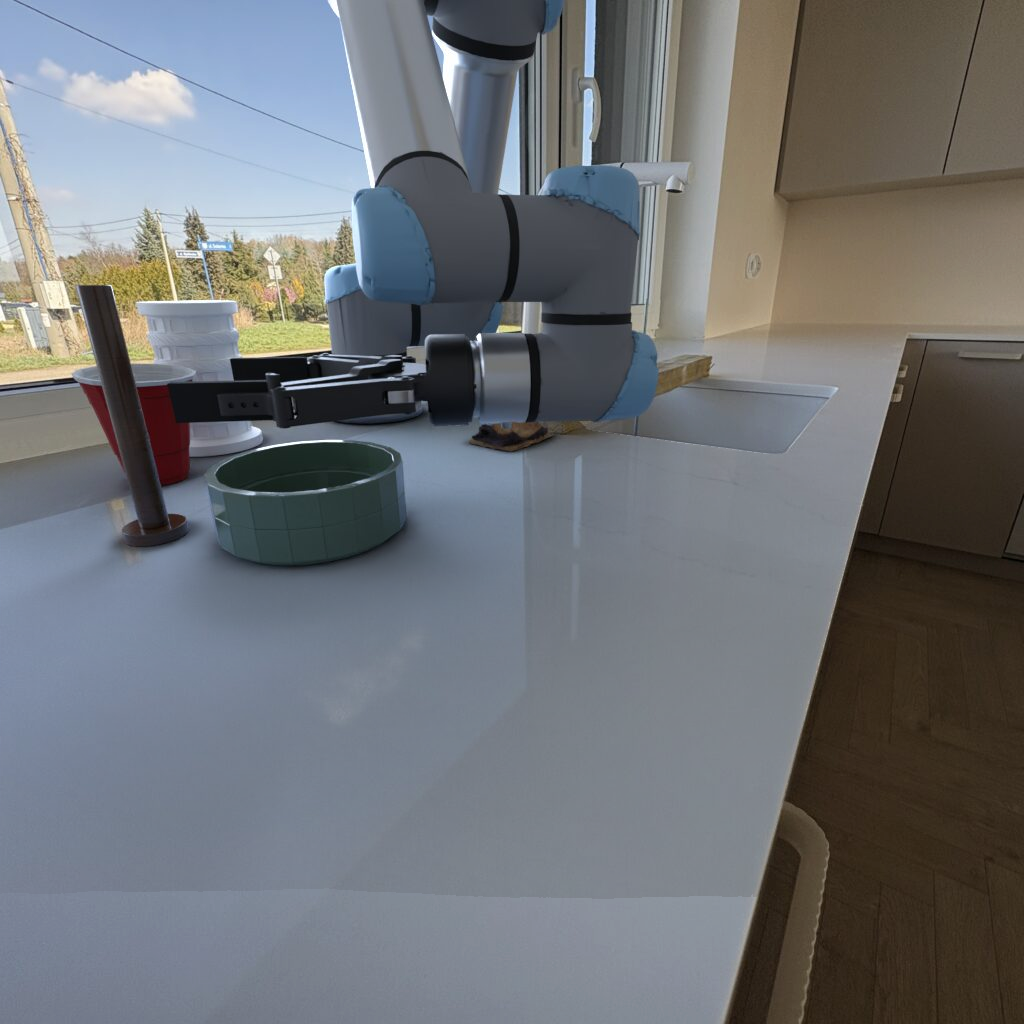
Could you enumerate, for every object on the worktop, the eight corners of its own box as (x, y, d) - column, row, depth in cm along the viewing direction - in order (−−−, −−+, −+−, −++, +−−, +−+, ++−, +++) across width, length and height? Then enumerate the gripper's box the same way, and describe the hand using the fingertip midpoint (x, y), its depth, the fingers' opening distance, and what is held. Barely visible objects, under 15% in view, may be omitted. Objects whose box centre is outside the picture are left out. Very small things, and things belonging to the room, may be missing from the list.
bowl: (305, 490, 59) (297, 434, 57) (437, 510, 54) (434, 449, 52) (175, 550, 46) (157, 480, 44) (334, 585, 41) (323, 507, 38)
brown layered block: (511, 428, 85) (511, 404, 84) (558, 437, 80) (559, 411, 79) (463, 442, 77) (462, 415, 76) (512, 453, 72) (512, 424, 71)
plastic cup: (167, 499, 57) (138, 377, 52) (77, 491, 59) (41, 374, 54) (237, 467, 67) (217, 362, 62) (157, 461, 69) (133, 360, 64)
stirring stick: (162, 520, 52) (103, 284, 44) (201, 528, 50) (147, 284, 43) (111, 541, 48) (36, 285, 40) (152, 550, 46) (82, 285, 38)
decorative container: (218, 431, 83) (192, 299, 76) (281, 438, 79) (260, 300, 72) (146, 451, 73) (108, 302, 66) (213, 460, 69) (181, 303, 62)
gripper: (489, 465, 38) (150, 480, 35) (464, 397, 61) (257, 402, 58) (488, 350, 35) (119, 356, 32) (462, 324, 58) (244, 326, 55)
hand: (207, 386), depth 45 cm, fingers open, 13 cm apart
